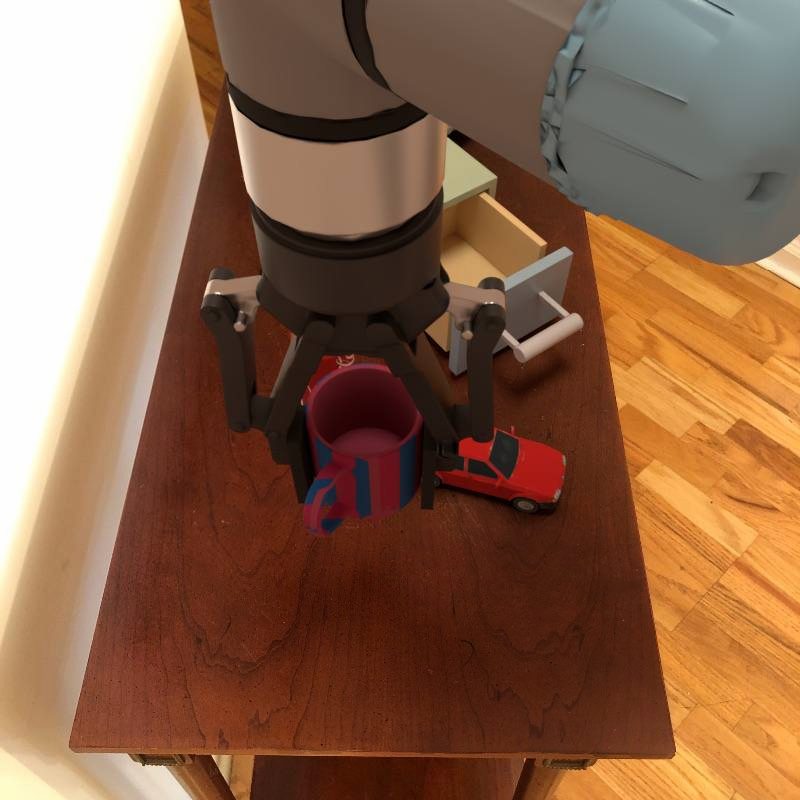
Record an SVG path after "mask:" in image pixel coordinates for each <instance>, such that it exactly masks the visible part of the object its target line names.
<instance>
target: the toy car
mask: <svg viewBox="0 0 800 800" xmlns="http://www.w3.org/2000/svg"><path fill="white" fill-rule="evenodd" d="M566 472H567V457H566V455H565V454H563V453H562V452H561V451H559V450H558V449H555V448H553V447H552V446H549V445H546V444H545V443H542V442H537V441H533V440H529V439H526V438H523V437H519V436H516V435H515V426H514V425H511V426H510V430H509V432H508V431H504V430H503V429H500V428H498V427H496V426H494V439H493V440H492V441H490V442H488V443H478V442H475V441H474V440H472V438H471V437H470V438H465V439H463V440H461V441H460V442H459V456H458V458H457V463H456V468H455V469H454V470H453V471H452V472H444V471H436V474H435V488H437V487H440V485H441V482H442V484H446V485H449V486H453V487H456V488H457V487H458V488H462V489H466V490H469V491H473V492H476V493H477V492H478V493H481V494H484V495H489V496H493V497H497V498H500V499H504V500H508V501H509V502H511V500H513V501H512V504H513V507H515V508H516V509H517V510H518V511H520V512H523V513H528V514H531V513H535V512H537V511H538V510H539V509H541V510H554V509H555V508H556V507H557V505H558V502H559V500H560V498H561V495H562V492H563V488H564V483H565V479H566ZM420 485H422V479H421V484H420Z"/></svg>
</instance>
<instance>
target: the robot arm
mask: <svg viewBox="0 0 800 800" xmlns="http://www.w3.org/2000/svg"><path fill="white" fill-rule="evenodd" d="M208 3H209V7H210V12H211V17H212V21H213V26H214V31H215V36H216V40H217V44H218V50H219V55H220V60H221V64H222V68H223V69H224V72H225V77H226V85H227V86H226V87H227V92H228V100H229V104H230V109H231V115H232V120H233V125H234V131H235V136H236V137H235V138H236V142H237V148H238V153H239V158H240V159H239V160H240V165H241V170H242V175H243V180H244V185H245V188H246V192H247V194H248V195H249V196H248V197H249V209H250V214H251V219H252V224H253V229H254V234H255V241H256V246H257V251H258V254H259V260H260V264H261V268H260V270H259V273H258V275H250V276H243V277H237V275H236V274H235V272H234V271H232V270H231V269H230V268H227V267H223V266H222V267H215V268H213V269H212V270H211V271H210V274H209V278H208V281H207V284H206V288H205V291H204V295H203V298H202V303H201V307H200V309H199V316H200V318H201V319H202V322H203V323H204V325H205V326H206V328H207V329H208V331H209V332H210V333H211V335H212V336H213V338H214V339H215V342H216V345H217V346H216V347H217V354H218V355H217V356H218V361H219V369H220V378H221V385H222V392H223V399H224V407H225V408H224V409H225V416H226V423H227V427H228V429H229V430H230V431H232V432H235V433H237V434H246V433H248V432H250V430H251V429H254V430H258V431H260V432H262V434H263V436H264V438H266V439H267V443H268V447H269V450H270V454H271V455H270V456H271V460H272V461H273V462H274V463H275V464H276V465H278V466H279V465H280V466H290V471H291V475H292V480H293V485H294V490H295V495H296V498H297V504H302V505H303V504H304V505H305V500H306V497H307V494H308V492H309V490H310V487H311V486H312V484H313V482H314V480H315V474H314V468H313V462H312V456H311V450H310V444H309V438H308V432H307V426H306V420H305V406H306V405H302V404H301V400H302V398H303V396H304V394H305V391H306V389H307V387H308V384H309V382H310V380H311V378H312V375H313V374H314V375H315V374H316V371H317V369H318V367H319V365H320V362H321V360H322V358H323V356H345V355H352V354H356V356H357V355H358V356H362V357H367V358H372V359H383V361H384V363H385V364H386V366H388V368H389V370H390V371H391V373H392V375H393V376H394V378H398V377H399V378H400V379H401V381H402V383H403V385H404V386H405V388H406V390H407V392H408V393H409V395H410V397H411V399H412V400H413V402H414V404H415V406H416V408H417V409H418V411H419V413H420V415H421V416H422V418H423V420H424V441H423V465H422V484H421V494H420V495H421V496H420V510H426V511H427V510H428V511H429V510H430V511H433V510H434V503H435V490H436V489H435V488H436V487H435V474H436V471H444V472H452V471H453V470H454V469H455V468H456V463H457V458H458V456H459V442H460V441H461V440H463V439H465V438H470V437H471V438H472V440H474V441H475V442H478V443H488V442H490V441H492V440H493V439H494V427H495V408H494V407H495V406H494V405H495V403H494V356H493V355H494V354H493V350H494V348H495V347H496V345H497V343H498V341H499V339H500V337H501V335H502V334H503V332H504V330H505V327H506V308H505V285H504V282H503V281H502V280H501V279H499V278H497V277H487V278H484V279H483V280H481V281H480V283H479V284H478V286H477V287H473V286H468V285H463V284H459V283H454V282H450V278H449V275H448V273H447V272H446V270H445V269H444V267H443V266H442V264H441V261H440V259H441V241H442V222H443V203H444V191H443V185H442V183H443V181H444V178H445V161H446V144H447V137H448V135H447V127H448V125H449V126H451V127H453V128H454V129H456V130H455V131H458V132H459V133H461V134H462V135H465V136H466V137H468V138H469V139H471V140H473V141H475V142H476V143H478V144H480V145H482V146H483V147H485V148H487V149H488V150H490V151H492V152H494V153H495V154H497V155H498V156H500V157H502V158H504V159H505V160H507V161H509V162H510V163H513V164H514V165H516V166H517V167H519V168H520V169H522V170H524V171H526V172H527V173H529V174H531V175H532V176H534V177H536V178H538V179H539V180H541V181H543V182H545V183H546V184H548V185H550V186H551V187H553V188H555V189H557V191H558V193H561V194H562V195H564V196H566V199H567V200H568V201H569V202H570V203H573V204H574V205H576V206H579V207H581V208H582V210H584V211H585V212H588V213H590V214H592V215H594V216H595V217H599V216H606V217H608V218H611V219H612V220H614V221H616V222H617V221H620V222H622V223H624V224H626V225H628V226H630V227H633V228H635V229H636V230H639V231H640V232H643V233H646V234H647V235H649V236H651V237H653V238H656V239H657V240H660V241H662V242H664V243H666V244H668V245H670V246H673V247H674V248H677V249H679V250H681V251H683V252H685V253H687V254H689V255H691V256H694V257H695V258H698V259H700V260H702V261H704V262H707V263H710V264H713V265H717V266H723V267H725V266H726V267H736V266H738V267H739V266H744V265H749V264H753V263H754V264H755V263H758V262H760V261H762V260H765V259H767V258H769V257H771V256H773V255H774V254H776V253H777V252H780V251H781V250H782V249H784V248H785V247H787V246H788V245H789V244H791V243H792V242H793V241H794V240H795V239H796V238H798V236H800V0H208ZM259 307H261V308H262V309H263V310H264V311H266V312H267V313H268V314H269V315H270V316H272V317H273V318H274V319H275V320H276V321H278V322H279V323H280V324H281V325H283V327H285V328H286V329H287V330H288V331H289V332H290V333H291V332H292V333H293V334H294V335H293V338H292V340H291V339H290V343H289V346H288V349H287V351H286V353H285V354H286V355H285V356H284V359H283V362H282V364H281V366H280V370H279V372H278V374H277V378H276V381H275V383H274V385H272V386H271V390H270V395H269V396H266V395H263V394H259V393H258V392H259V389H258V376H257V375H258V373H257V361H256V348H255V333H254V322H255V320H256V316H257V312H258V308H259ZM445 312H448V313H450V314H451V315H452V316H453V317H454V319H455V324H454V325H455V327H456V329H457V330H459V331H461V337H462V338H463V339H465V340H467V370H466V373H467V389H468V402H466V403H459V400H458V399H457V397H456V394H455V393H454V391H453V389H452V386H451V384H450V383H449V380H448V379H447V377H446V375H445V373H444V371H443V368H442V367H441V364H440V362H439V360H438V358H437V357H436V355H435V352H434V351H433V348H432V346H431V344H430V342H429V340H428V338H427V336H426V334H425V332H426V331H425V330H426V329H427V328H428V327H429V326H431V325H432V324H433V323H434V322H435V321H436V320H438V319H439V318H440V317H441V316H442V315H443V314H444V313H445Z"/></svg>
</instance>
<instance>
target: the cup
mask: <svg viewBox="0 0 800 800" xmlns="http://www.w3.org/2000/svg"><path fill="white" fill-rule="evenodd" d="M305 420H306V426H307V432H308V438H309V444H310V450H311V456H312V462H313V468H314V474H315V476H314V482H313V484H312V486H311V487H310V490H309V492H308V494H307V497H306V500H305V504H304V506H303V512H302V513H303V514H302V515H303V525H304V528H305V530H306V531H307V532H308V533H309V534H311V535H313V536H314V537H317V538H320V539H324V538H326V537H329V536H330V535H332V534H333V533H334V532H335V530H337V529H338V528H339V526H340V525H341V524H342V523H343V522H344V520H345V519H346V518H347V517H348V518H352V519H358V520H377V519H383V518H386V517H389V516H393V514H396V513H398V512H400V511H401V510H403V509H404V508H405V507H406V506H408V505H409V504H410V502H411V501H412V500H413V499H414V498H415V496H416V495H417V493H418V491H419V489H420V486H421V485H422V484H421V479H422V465H423V441H424V420H423V418H422V416H421V415H420V413H419V411H418V409H417V408H416V406H415V404H414V402H413V400H412V399H411V397H410V395H409V393H408V392H407V390H406V388H405V386H404V385H403V383H402V381H401V379H400V378H399V377H398V378H394V376H393V375H392V373H391V371H390V370H389V368H388V366H387V365H384V364H379V363H371V362H369V363H368V362H362V363H356V364H353V365H349V366H345V367H342V368H339V369H337V370H335V371H333V372H331V373H329V374H328V375H326V376H325V377H324V378H322V379H321V380H320V381H319V382H318V383H317V384H316V385H315V387H314V388H313V389H312V391H311V393H310V394H309V396H308V399H307V402H306V406H305ZM325 503H326V504H327V505H328V506H329V509H328V510H327V512H326V514H325V515H324V517H322V515H323V509H324V507H325Z"/></svg>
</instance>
